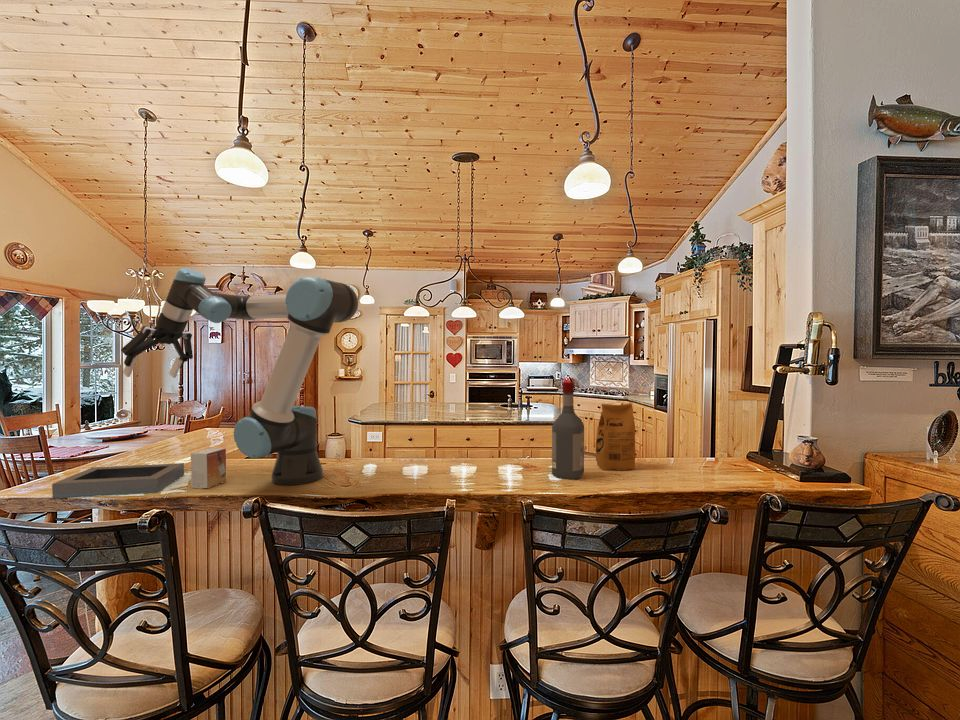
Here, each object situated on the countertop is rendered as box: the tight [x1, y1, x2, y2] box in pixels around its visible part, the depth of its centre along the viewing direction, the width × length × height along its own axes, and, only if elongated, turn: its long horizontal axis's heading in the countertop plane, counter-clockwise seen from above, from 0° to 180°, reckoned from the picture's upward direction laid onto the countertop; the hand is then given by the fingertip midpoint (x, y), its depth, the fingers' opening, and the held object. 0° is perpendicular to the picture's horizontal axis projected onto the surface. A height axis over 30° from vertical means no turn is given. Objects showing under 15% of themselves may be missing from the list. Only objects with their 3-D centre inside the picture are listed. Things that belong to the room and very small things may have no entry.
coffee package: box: [595, 403, 636, 472], centre depth 160 cm, size 10×12×22 cm
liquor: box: [551, 381, 585, 481], centre depth 150 cm, size 9×9×30 cm
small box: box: [190, 447, 227, 489], centre depth 141 cm, size 8×6×10 cm
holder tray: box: [51, 462, 185, 499], centre depth 141 cm, size 26×18×4 cm
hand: (150, 375), depth 148 cm, fingers open, 13 cm apart
